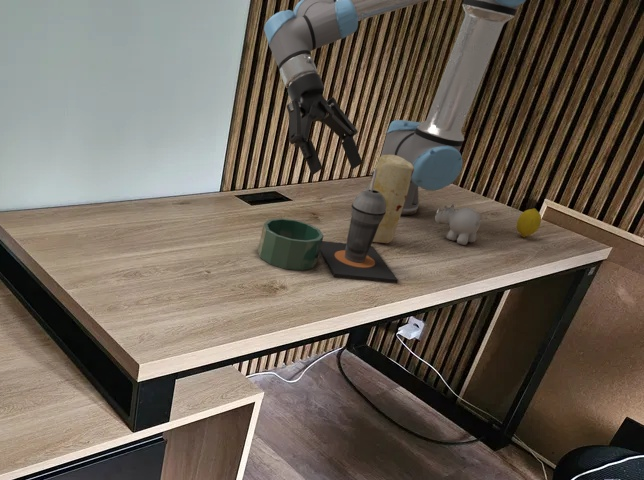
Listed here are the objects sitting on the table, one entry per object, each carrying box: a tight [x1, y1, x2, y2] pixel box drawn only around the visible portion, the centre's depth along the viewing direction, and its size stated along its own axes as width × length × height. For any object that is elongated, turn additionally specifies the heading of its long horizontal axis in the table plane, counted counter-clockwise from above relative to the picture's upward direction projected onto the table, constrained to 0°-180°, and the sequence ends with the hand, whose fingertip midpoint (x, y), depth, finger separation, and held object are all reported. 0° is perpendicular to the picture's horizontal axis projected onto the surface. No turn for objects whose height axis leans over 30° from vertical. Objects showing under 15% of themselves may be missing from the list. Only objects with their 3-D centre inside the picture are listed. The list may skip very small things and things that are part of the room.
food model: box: [369, 155, 414, 244], centre depth 163 cm, size 10×7×20 cm
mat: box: [319, 240, 399, 284], centre depth 153 cm, size 18×14×1 cm
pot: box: [257, 217, 325, 271], centre depth 149 cm, size 13×13×6 cm
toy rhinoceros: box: [434, 204, 482, 246], centre depth 174 cm, size 7×12×8 cm, turn 35°
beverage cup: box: [344, 167, 386, 263], centre depth 147 cm, size 7×7×20 cm
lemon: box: [515, 207, 542, 238], centre depth 182 cm, size 6×6×8 cm
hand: (337, 168), depth 151 cm, fingers open, 13 cm apart
